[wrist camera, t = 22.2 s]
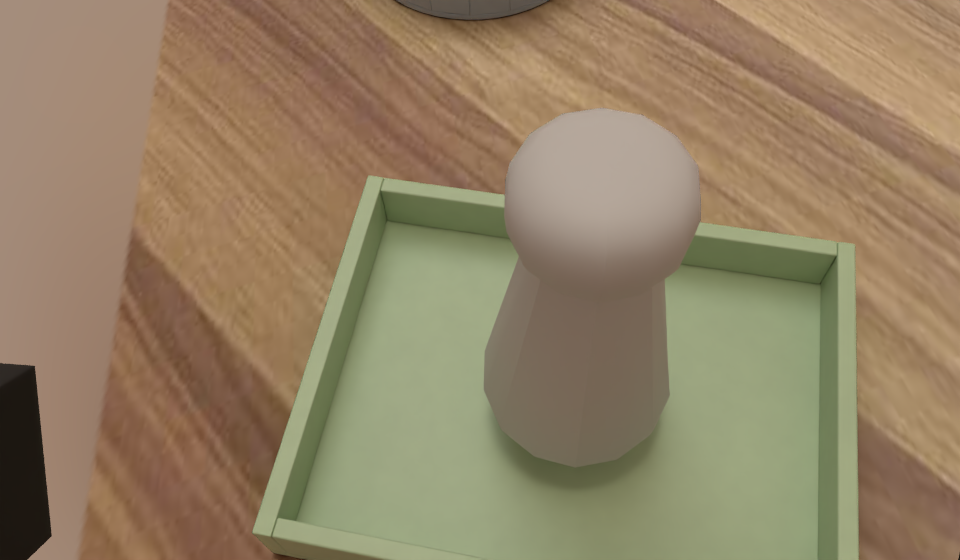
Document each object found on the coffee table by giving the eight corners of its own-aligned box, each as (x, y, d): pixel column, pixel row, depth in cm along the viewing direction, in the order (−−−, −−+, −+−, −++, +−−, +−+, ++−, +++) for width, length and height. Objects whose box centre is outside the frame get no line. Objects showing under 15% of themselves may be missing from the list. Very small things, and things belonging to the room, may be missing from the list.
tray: (272, 552, 28) (251, 533, 26) (377, 213, 34) (367, 174, 32) (832, 666, 26) (861, 654, 24) (833, 280, 32) (856, 243, 30)
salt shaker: (450, 410, 30) (407, 177, 18) (558, 296, 32) (579, 23, 20) (588, 525, 27) (635, 341, 16) (694, 395, 30) (801, 152, 18)
